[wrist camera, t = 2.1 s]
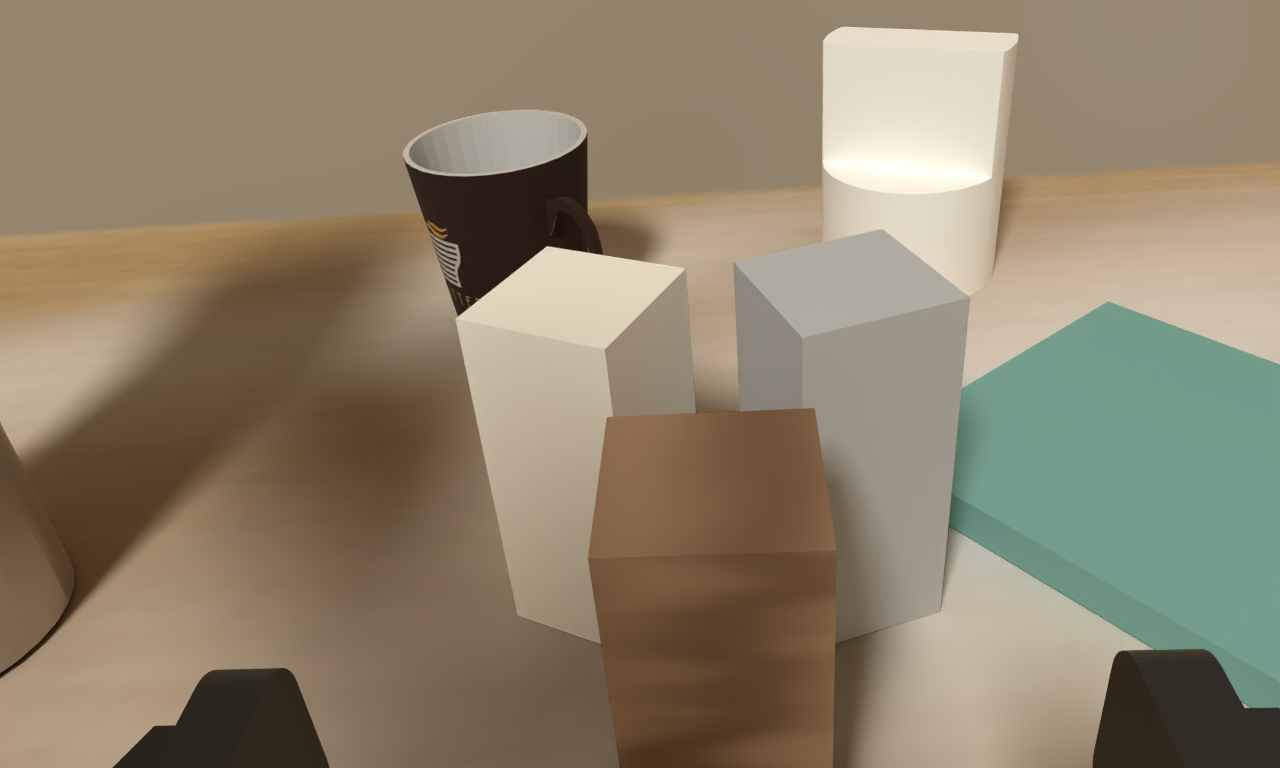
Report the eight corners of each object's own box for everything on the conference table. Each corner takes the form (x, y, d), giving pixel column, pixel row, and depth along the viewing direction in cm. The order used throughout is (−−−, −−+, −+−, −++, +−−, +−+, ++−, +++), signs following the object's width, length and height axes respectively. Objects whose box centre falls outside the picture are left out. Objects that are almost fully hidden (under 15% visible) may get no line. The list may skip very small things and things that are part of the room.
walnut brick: (640, 895, 28) (588, 558, 21) (648, 738, 32) (606, 416, 25) (830, 894, 27) (837, 550, 21) (813, 736, 31) (814, 407, 25)
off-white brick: (517, 615, 37) (455, 319, 30) (588, 528, 40) (546, 246, 34) (643, 658, 35) (605, 349, 28) (706, 562, 38) (685, 268, 32)
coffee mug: (441, 301, 57) (403, 124, 52) (596, 276, 58) (574, 100, 53) (447, 418, 48) (401, 215, 42) (633, 385, 49) (611, 183, 43)
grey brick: (803, 653, 34) (802, 337, 28) (746, 556, 38) (733, 261, 32) (940, 611, 35) (969, 297, 29) (870, 521, 39) (882, 229, 33)
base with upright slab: (1009, 240, 58) (1034, 16, 51) (972, 317, 51) (997, 72, 45) (850, 221, 61) (855, 11, 55) (797, 290, 55) (796, 61, 48)
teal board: (866, 475, 42) (867, 445, 41) (1102, 329, 49) (1108, 301, 48) (1279, 724, 30) (1293, 689, 30) (1505, 486, 38) (1520, 452, 37)
